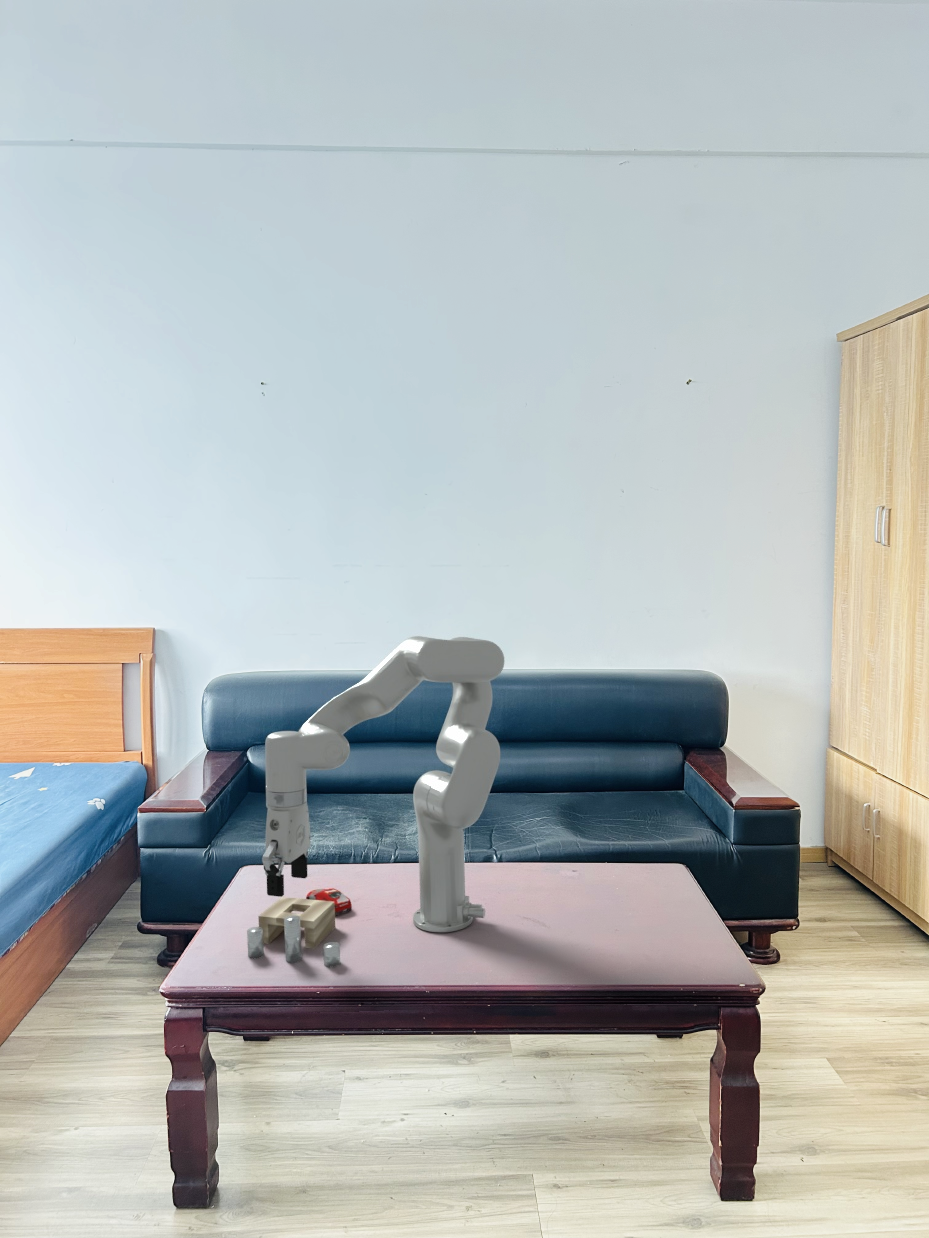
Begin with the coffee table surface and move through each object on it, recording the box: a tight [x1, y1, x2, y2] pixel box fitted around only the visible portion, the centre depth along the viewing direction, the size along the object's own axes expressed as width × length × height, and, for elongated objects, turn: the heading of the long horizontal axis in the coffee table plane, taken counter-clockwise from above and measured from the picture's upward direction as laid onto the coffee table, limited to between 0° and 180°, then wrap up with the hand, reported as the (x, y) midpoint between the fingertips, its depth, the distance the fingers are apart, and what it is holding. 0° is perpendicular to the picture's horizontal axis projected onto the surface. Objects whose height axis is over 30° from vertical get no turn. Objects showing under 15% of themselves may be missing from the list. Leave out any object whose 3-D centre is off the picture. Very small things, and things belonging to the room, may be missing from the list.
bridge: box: [258, 896, 336, 949], centre depth 176 cm, size 12×10×6 cm
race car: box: [305, 887, 353, 916], centre depth 191 cm, size 13×5×4 cm, turn 40°
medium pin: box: [246, 926, 265, 960], centre depth 168 cm, size 3×3×5 cm
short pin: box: [323, 941, 341, 968], centre depth 164 cm, size 3×3×4 cm
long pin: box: [283, 915, 303, 964], centre depth 166 cm, size 3×3×8 cm
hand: (287, 886), depth 165 cm, fingers open, 9 cm apart
